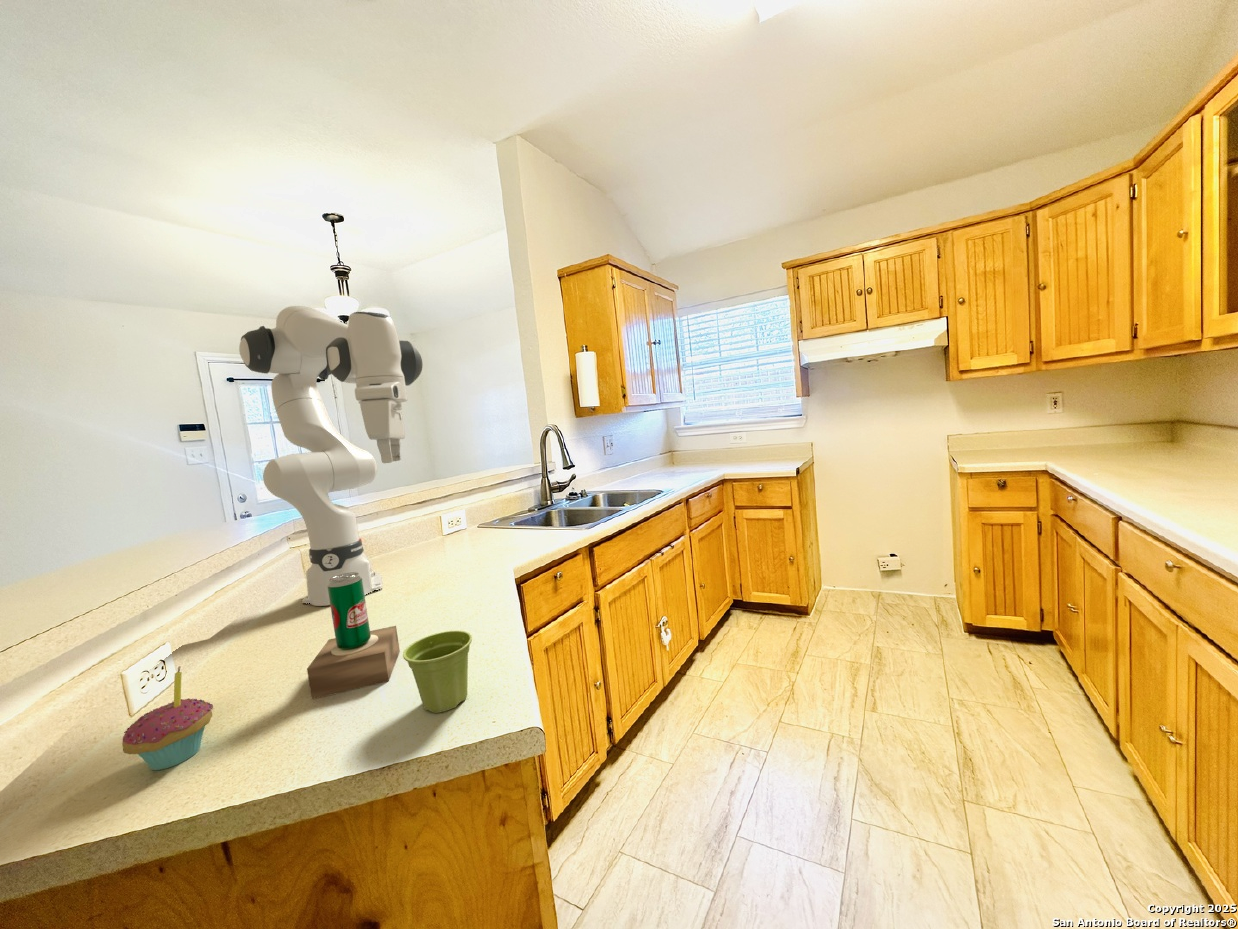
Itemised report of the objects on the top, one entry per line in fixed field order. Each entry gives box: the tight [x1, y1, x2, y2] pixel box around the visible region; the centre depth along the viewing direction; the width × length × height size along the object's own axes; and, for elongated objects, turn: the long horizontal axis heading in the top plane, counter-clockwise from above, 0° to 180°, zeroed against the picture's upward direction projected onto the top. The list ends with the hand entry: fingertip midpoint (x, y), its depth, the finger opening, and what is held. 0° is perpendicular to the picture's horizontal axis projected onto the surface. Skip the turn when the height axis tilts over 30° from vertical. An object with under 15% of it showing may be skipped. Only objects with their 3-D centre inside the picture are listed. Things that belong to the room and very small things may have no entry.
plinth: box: [306, 625, 401, 700], centre depth 77 cm, size 11×11×5 cm
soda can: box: [328, 572, 371, 650], centre depth 77 cm, size 5×5×12 cm
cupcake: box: [121, 665, 214, 771], centre depth 59 cm, size 9×8×12 cm
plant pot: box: [402, 630, 473, 713], centre depth 66 cm, size 9×9×9 cm
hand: (392, 461), depth 92 cm, fingers open, 8 cm apart
